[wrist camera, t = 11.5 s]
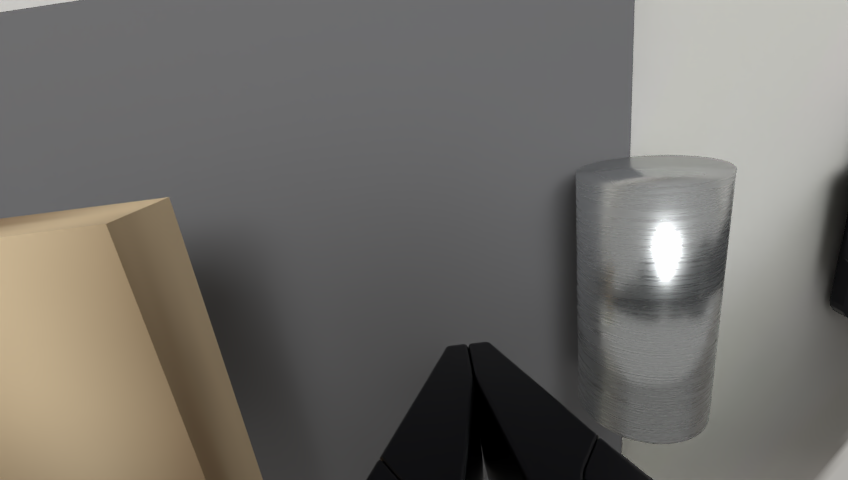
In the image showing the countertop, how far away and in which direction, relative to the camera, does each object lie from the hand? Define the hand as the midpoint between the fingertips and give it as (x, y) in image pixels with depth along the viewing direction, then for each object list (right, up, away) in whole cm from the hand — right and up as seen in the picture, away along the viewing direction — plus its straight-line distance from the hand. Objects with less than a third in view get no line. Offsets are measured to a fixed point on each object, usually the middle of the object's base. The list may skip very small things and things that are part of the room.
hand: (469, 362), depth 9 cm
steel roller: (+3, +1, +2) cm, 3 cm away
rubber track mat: (-10, 0, +4) cm, 11 cm away
